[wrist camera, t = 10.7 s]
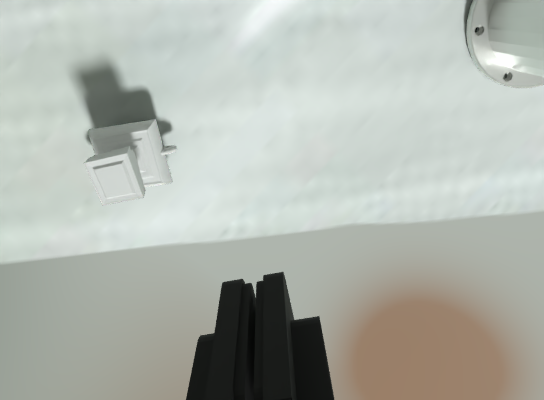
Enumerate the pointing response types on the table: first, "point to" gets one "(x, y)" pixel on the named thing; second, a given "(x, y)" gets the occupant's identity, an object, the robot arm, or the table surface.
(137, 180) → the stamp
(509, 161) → the table surface
